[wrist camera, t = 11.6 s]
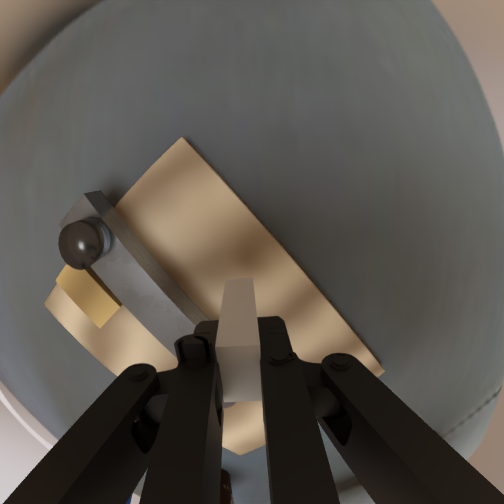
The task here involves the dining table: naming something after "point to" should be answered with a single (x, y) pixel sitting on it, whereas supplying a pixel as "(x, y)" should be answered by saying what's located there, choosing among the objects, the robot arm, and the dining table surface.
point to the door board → (202, 280)
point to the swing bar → (127, 269)
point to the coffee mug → (225, 489)
